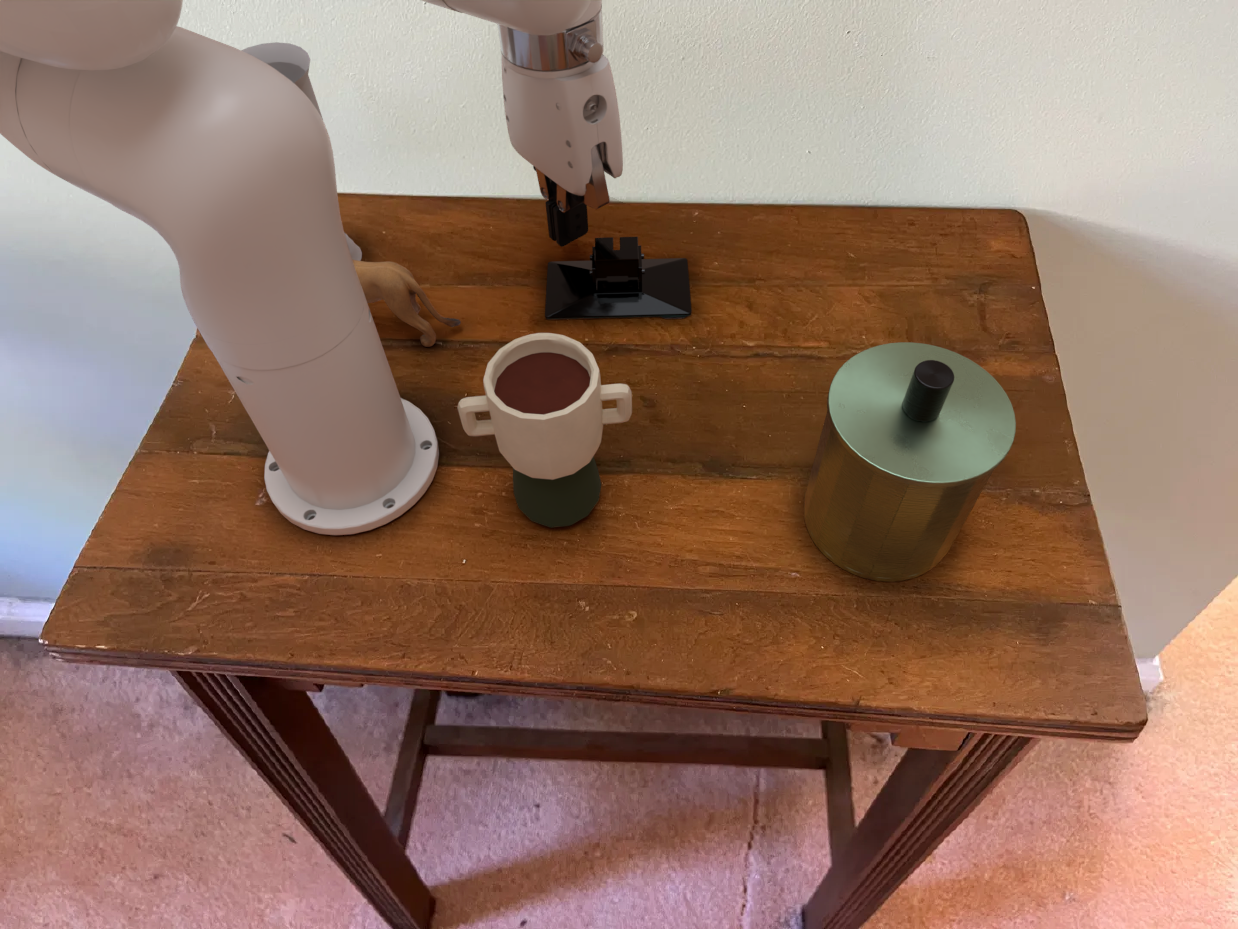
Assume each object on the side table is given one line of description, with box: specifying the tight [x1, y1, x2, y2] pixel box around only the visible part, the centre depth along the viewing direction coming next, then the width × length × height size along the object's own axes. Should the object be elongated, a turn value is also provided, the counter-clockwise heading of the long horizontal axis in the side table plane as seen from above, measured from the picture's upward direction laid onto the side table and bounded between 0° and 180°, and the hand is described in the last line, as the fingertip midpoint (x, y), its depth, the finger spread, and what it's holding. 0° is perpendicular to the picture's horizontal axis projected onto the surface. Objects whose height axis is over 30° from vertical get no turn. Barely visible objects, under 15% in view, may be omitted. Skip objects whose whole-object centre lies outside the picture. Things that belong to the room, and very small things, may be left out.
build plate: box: [544, 236, 693, 321], centre depth 73 cm, size 12×7×5 cm, turn 91°
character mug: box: [456, 332, 633, 529], centre depth 57 cm, size 11×7×13 cm, turn 96°
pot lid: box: [826, 341, 1017, 487], centre depth 50 cm, size 11×11×4 cm
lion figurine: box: [352, 260, 462, 348], centre depth 70 cm, size 15×5×9 cm, turn 88°
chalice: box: [240, 41, 363, 261], centre depth 71 cm, size 7×7×18 cm
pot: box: [803, 409, 994, 583], centre depth 56 cm, size 10×10×12 cm
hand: (569, 235), depth 77 cm, fingers closed
